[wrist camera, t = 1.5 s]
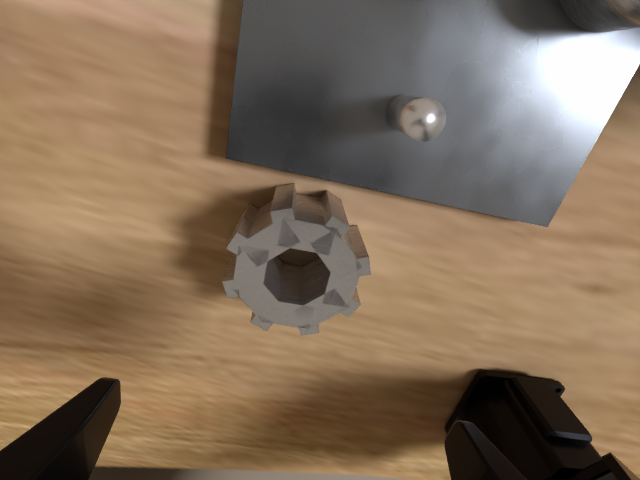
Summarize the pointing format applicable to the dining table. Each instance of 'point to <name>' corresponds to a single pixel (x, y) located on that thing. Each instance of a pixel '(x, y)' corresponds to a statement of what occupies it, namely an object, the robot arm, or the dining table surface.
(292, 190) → the planet gear
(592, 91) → the plate
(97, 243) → the dining table surface
